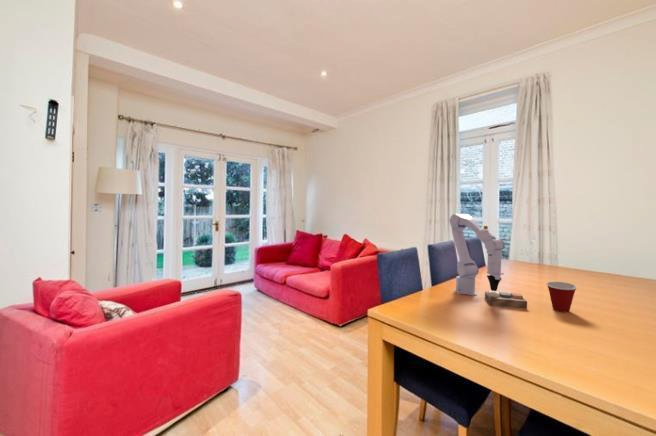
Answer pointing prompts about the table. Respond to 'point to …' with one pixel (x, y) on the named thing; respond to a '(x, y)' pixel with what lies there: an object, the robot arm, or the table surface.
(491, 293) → the ivory key
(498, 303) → the key box
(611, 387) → the table surface
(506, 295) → the charcoal key
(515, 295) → the terracotta key
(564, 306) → the plastic cup
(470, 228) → the robot arm
